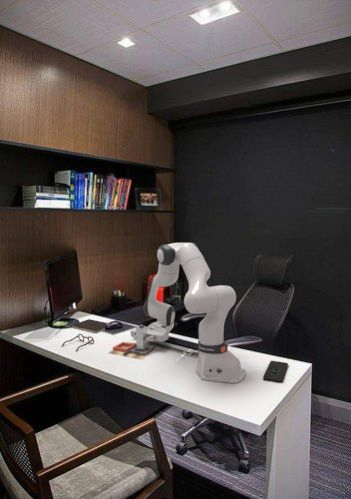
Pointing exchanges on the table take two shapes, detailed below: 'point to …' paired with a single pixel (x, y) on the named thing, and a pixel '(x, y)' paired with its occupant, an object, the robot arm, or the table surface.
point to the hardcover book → (90, 326)
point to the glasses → (81, 340)
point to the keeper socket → (124, 348)
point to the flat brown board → (135, 352)
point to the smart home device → (275, 371)
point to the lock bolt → (141, 338)
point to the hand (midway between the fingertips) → (140, 339)
